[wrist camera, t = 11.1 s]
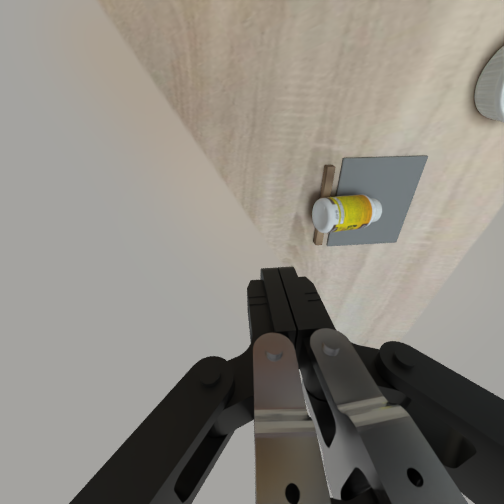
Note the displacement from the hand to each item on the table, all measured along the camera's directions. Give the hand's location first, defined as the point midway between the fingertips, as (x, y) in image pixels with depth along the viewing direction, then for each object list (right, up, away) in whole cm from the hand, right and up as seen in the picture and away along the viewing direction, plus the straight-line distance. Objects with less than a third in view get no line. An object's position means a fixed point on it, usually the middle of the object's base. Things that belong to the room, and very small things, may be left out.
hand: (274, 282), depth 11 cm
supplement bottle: (+9, +7, +25) cm, 28 cm away
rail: (+11, +9, +30) cm, 33 cm away
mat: (+20, +10, +30) cm, 38 cm away
